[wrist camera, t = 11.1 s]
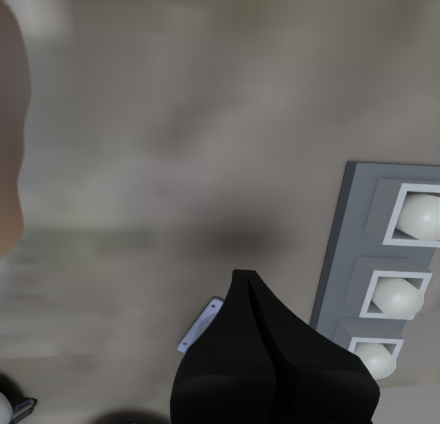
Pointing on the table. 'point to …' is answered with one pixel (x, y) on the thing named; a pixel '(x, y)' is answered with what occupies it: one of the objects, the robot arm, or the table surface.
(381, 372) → the knob
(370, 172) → the control panel
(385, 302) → the knob mid
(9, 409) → the coffee press
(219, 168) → the table surface
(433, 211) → the knob
